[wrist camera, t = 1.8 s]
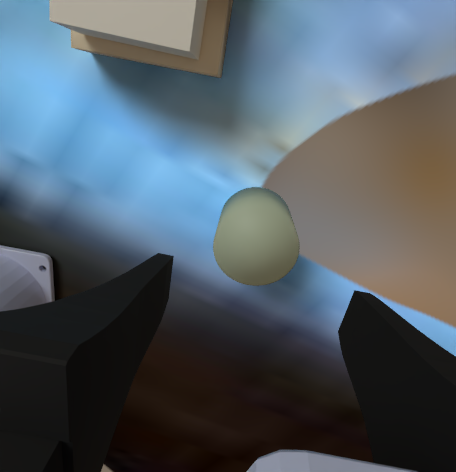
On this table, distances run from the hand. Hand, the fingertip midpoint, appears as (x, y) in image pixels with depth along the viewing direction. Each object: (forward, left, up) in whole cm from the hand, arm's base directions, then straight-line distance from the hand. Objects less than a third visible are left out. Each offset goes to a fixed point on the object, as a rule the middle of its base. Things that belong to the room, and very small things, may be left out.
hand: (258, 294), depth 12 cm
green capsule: (0, 0, -8) cm, 8 cm away
